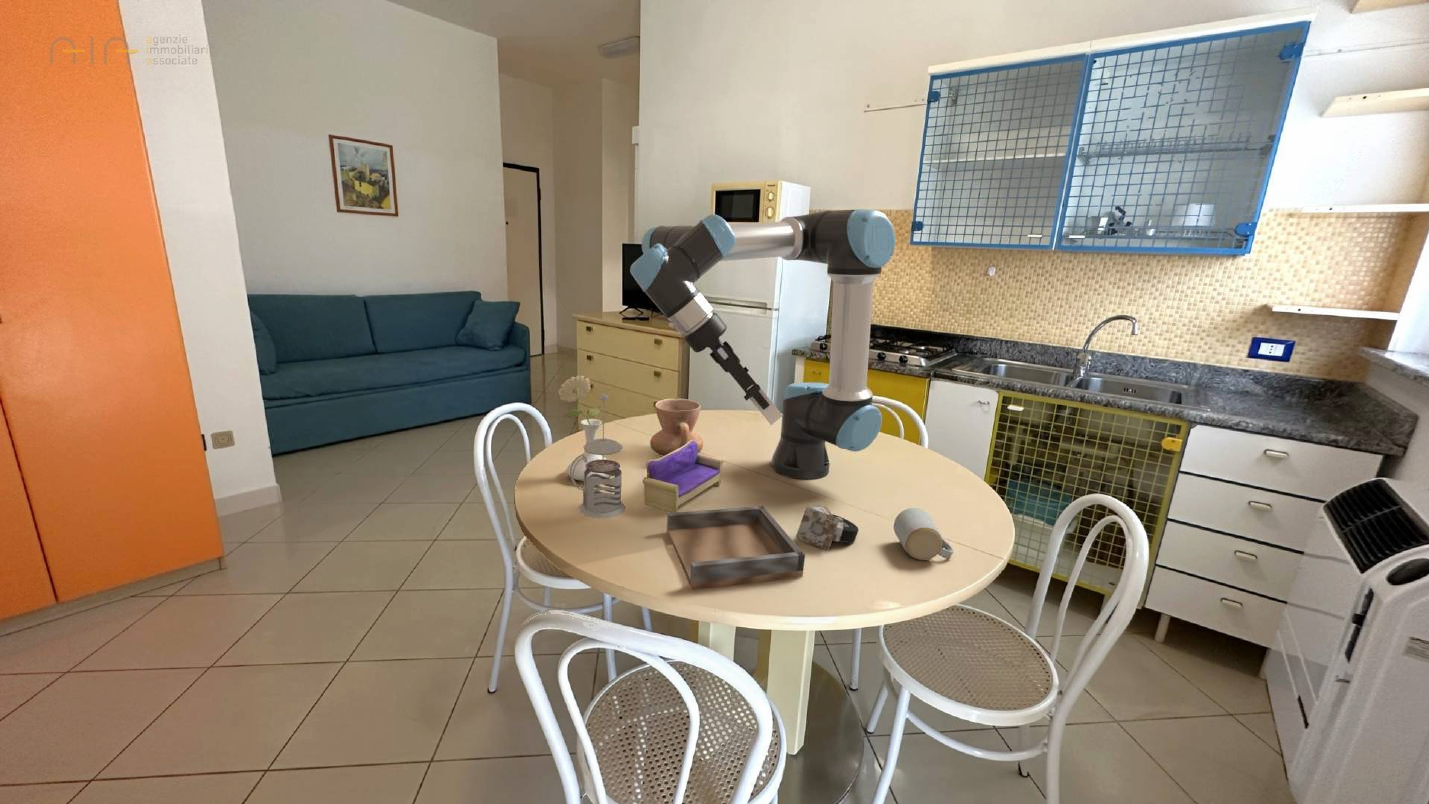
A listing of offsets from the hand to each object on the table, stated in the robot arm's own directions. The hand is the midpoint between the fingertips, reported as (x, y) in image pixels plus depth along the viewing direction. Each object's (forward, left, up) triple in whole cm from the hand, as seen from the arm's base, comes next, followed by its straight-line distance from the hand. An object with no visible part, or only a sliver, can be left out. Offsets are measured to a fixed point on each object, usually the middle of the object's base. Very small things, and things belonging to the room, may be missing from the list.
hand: (769, 410), depth 108 cm
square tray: (+8, +7, -25) cm, 28 cm away
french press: (+30, -16, -26) cm, 43 cm away
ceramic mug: (-29, +13, -26) cm, 41 cm away
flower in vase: (+31, -34, -26) cm, 53 cm away
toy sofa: (+10, -21, -26) cm, 35 cm away
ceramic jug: (+6, -47, -26) cm, 54 cm away
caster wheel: (-13, +4, -26) cm, 29 cm away
